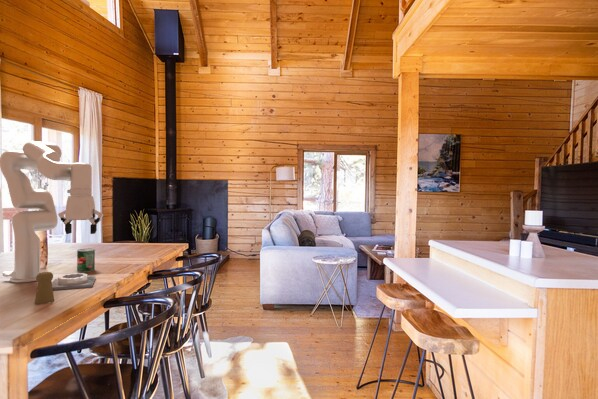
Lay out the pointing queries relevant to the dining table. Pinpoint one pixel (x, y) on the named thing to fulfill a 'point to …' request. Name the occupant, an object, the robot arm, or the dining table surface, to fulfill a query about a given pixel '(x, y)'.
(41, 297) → the olive tapered shaker
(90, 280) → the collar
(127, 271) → the dining table surface
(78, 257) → the canned tomato
